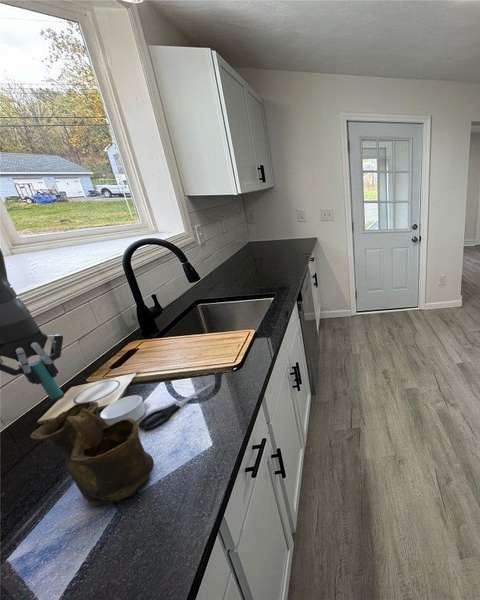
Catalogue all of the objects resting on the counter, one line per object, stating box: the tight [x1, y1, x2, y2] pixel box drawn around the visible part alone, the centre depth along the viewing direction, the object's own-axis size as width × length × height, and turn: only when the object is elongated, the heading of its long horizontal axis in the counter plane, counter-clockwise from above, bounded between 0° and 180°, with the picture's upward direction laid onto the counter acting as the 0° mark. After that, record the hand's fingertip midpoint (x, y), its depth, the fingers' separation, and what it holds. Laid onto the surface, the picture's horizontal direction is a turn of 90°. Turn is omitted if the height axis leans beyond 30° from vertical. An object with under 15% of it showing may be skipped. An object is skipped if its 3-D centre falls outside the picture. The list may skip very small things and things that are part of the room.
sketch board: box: [36, 372, 137, 425], centre depth 95 cm, size 18×16×1 cm
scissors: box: [138, 381, 215, 432], centre depth 89 cm, size 7×1×20 cm
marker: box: [29, 360, 65, 402], centre depth 80 cm, size 2×2×11 cm
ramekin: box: [99, 395, 146, 424], centre depth 85 cm, size 9×9×4 cm
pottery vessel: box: [30, 401, 155, 507], centre depth 63 cm, size 25×11×20 cm, turn 65°
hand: (45, 379), depth 80 cm, fingers closed on marker, 2 cm apart
